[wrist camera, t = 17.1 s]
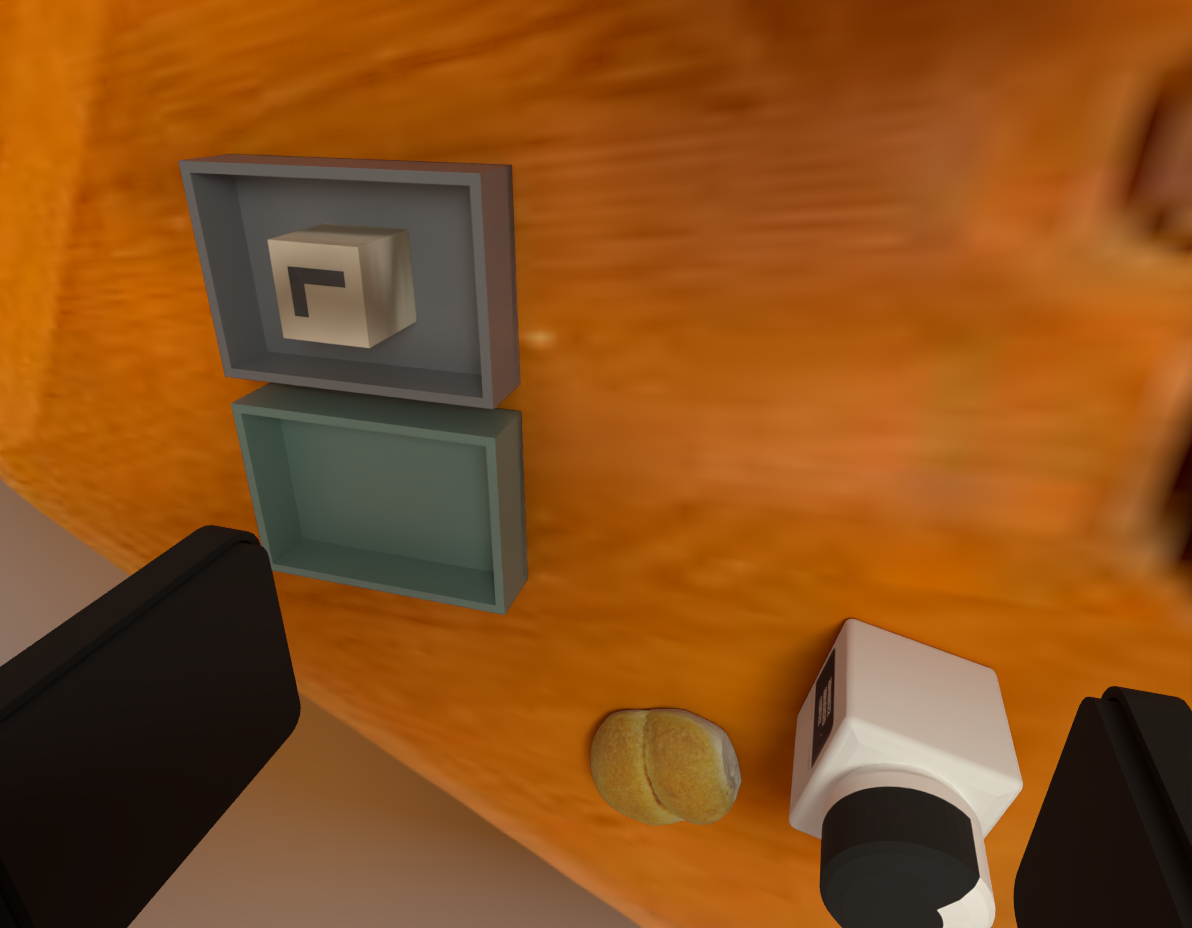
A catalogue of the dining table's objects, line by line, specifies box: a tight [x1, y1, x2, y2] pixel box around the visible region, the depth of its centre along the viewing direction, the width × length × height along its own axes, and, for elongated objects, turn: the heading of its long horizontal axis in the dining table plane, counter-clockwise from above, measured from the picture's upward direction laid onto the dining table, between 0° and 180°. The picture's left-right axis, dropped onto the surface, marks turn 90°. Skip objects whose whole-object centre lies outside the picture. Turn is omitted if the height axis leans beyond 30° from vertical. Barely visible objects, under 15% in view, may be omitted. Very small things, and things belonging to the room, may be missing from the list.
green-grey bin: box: [231, 382, 528, 615], centre depth 43 cm, size 10×15×4 cm
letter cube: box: [268, 223, 417, 348], centre depth 37 cm, size 4×5×5 cm
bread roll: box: [590, 709, 741, 826], centre depth 47 cm, size 8×9×4 cm
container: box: [789, 619, 1023, 928], centre depth 36 cm, size 8×8×13 cm
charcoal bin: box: [179, 154, 520, 409], centre depth 38 cm, size 10×15×4 cm
